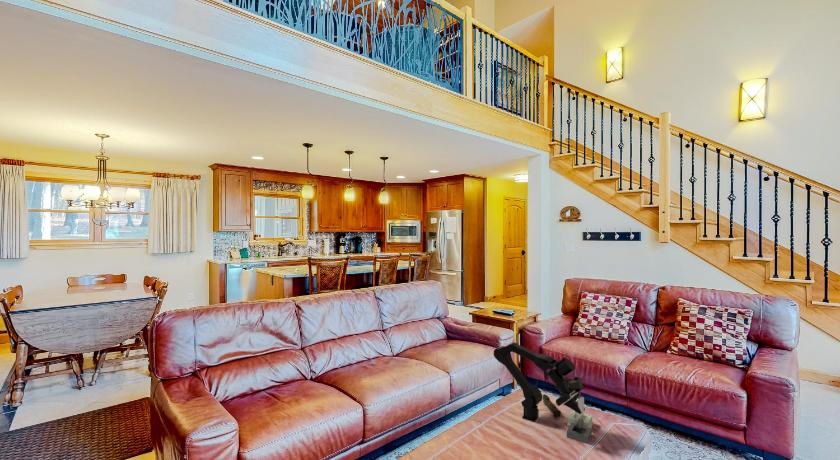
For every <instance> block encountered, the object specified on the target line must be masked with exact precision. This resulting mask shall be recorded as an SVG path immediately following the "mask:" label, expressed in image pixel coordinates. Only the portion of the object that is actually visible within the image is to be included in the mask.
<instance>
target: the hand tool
mask: <svg viewBox="0 0 840 460" xmlns="http://www.w3.org/2000/svg"><path fill="white" fill-rule="evenodd" d="M542 400H543V401H542V402H543V405H544V406H546V407H547V409H548V410H549V411H550V413H552V416H553V418H554V417H559V418H560V417H561V415H562V411H561V410H559V409H558V408H557V405H555V404H554V403H553V402H552V401H551V399H550V397H549V395H548V394H546V393H545V394H542Z"/></svg>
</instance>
